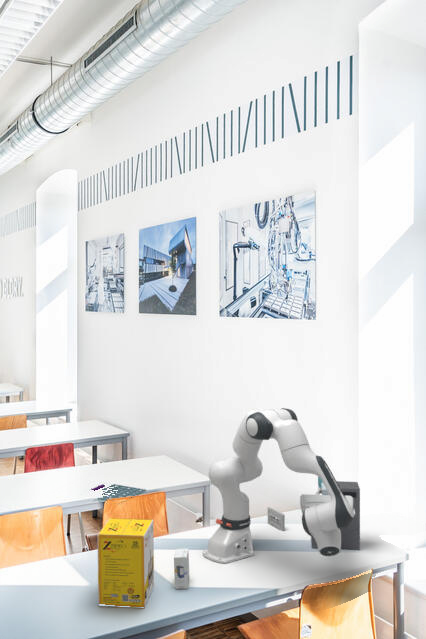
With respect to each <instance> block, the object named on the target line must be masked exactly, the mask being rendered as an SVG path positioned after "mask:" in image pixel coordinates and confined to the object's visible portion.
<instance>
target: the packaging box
mask: <svg viewBox="0 0 426 639" xmlns="http://www.w3.org/2000/svg"><path fill="white" fill-rule="evenodd" d="M154 536H155V535H154V519H152V518H151V519H149V518H147V519H143V518H142V519H141V518H113V517H111V518H109V519H108V520H107V522H106V523H105V524H104V526H103V527H102V529H100V531H99V532H98V534H97V536H96V537H97V591H98V593H97V594H98V595H97V596H98V597H97V598H98V599H97V600H98V602H97V604H105V605H115V606H130V607H145V608H146V606H147V604H146V602H147V600H148V601H149V599H150V597H149V596H151V595H150V593H151V594H152V592H153V590H154V588H153V586H154V587H155V560H154V558H155V553H154V550H155V549H154V548H155V547H154ZM152 589H153V590H152ZM151 591H152V592H151ZM148 598H149V599H148ZM147 603H148V602H147ZM145 605H146V606H145Z"/></svg>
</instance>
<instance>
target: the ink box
mask: <svg viewBox="0 0 426 639" xmlns="http://www.w3.org/2000/svg"><path fill="white" fill-rule="evenodd" d="M189 554H190V553H189V548H176V549H175V553H174V556H173V568H174V570H173V571H174V573H173V574H174V577H173V578H174V589H175V590H177V589H178V590H179V589H185V590H186V589H189V585H190V558H189V557H190V555H189Z"/></svg>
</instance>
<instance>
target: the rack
mask: <svg viewBox="0 0 426 639" xmlns="http://www.w3.org/2000/svg"><path fill="white" fill-rule="evenodd" d="M336 481H337V483H338V485H339V487H340V489H341V491H342V493H343V494H344V496H351V497H353V508H354V509H355V516H354V519H353V522H352V523H351V525H350V526H349V527H347V528H341V529H340V531H341V549H340V551H341V550H342V551H361V502H360V501H361V488H360V485H359V484H358V481H338V480H336ZM310 543H311V544H310V545H311V549H317V550H318V546H317V543H316V541H315V539H314V538H312V537H311V536H310Z"/></svg>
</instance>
